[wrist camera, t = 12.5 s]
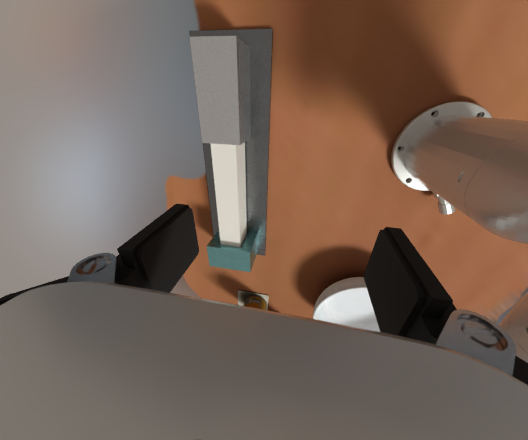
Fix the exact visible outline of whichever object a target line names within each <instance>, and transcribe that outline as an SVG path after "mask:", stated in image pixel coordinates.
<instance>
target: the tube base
mask: <svg viewBox="0 0 528 440" xmlns="http://www.w3.org/2000/svg"><path fill="white" fill-rule="evenodd" d="M189 32H190V37H189V38H190V46H191V54H192V63H193V71H194V79H195V87H196V96H197V104H198V113H199V121H200V129H201V137H202V143H203V150H204V159H205V167H206V176H207V184H208V192H209V201H210V209H211V218H212V226H213V234H214V237H213V238H212V240H211V241H210V242H209V244H208V245H207V251H208V258H209V265H210V266H215V267H221V268H228V269H234V270H240V271H247V272H250V271H251V269H252V266H253V263H254V260H255V257H256V254H258V255H265V249H266V219H267V190H268V161H269V131H270V102H271V73H272V44H273V29H243V30H205V31H189ZM244 142H245V171H246V217H247V236H246V239H245V241H244V243H243V245H242V247H241V248H240V247H233V246H226V245H221V243H220V233H219V223H218V213H217V203H216V193H215V183H214V173H213V164H212V154H211V144H210V143H212V144H228V145H241V144H243V143H244Z"/></svg>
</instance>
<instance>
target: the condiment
mask: <svg viewBox="0 0 528 440" xmlns="http://www.w3.org/2000/svg"><path fill="white" fill-rule="evenodd" d="M268 298H269V296H267V295H263V294H258V293H250V292H246V291H239V290H238V305H241V306H246V307H251V308H257V309H262V310H268Z"/></svg>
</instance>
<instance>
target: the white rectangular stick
mask: <svg viewBox="0 0 528 440" xmlns="http://www.w3.org/2000/svg"><path fill="white" fill-rule="evenodd" d="M210 144H211V154H212V164H213V173H214V183H215V193H216V203H217V213H218V223H219V233H220V243H221V245H226V246H233V247H240V248H241V247H242V245H243V243H244V241H245V239H246V236H247V217H246V171H245V142H244V143H243V144H241V145H228V144H212V143H210Z"/></svg>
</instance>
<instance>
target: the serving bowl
mask: <svg viewBox="0 0 528 440" xmlns="http://www.w3.org/2000/svg"><path fill="white" fill-rule="evenodd" d="M313 319H316V320H321V321H326V322H332V323H337V324H342V325H348V326H353V327H358V328H363V329H368V330H373V331H378V332H380V329H379V326H378V323H377V320H376V316H375V313H374V310H373V307H372V303H371V300H370V297H369V294H368V290H367V287H366V284H365V281H364V277H352V278H347V279H343V280H340V281H338V282H336V283H334V284H332V285H330V286H329V287H327V288H326V289H325V290H324V291H323V292H322V293H321V294H320V296H319V297H318V299H317V301H316V304H315V307H314V312H313Z"/></svg>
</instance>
